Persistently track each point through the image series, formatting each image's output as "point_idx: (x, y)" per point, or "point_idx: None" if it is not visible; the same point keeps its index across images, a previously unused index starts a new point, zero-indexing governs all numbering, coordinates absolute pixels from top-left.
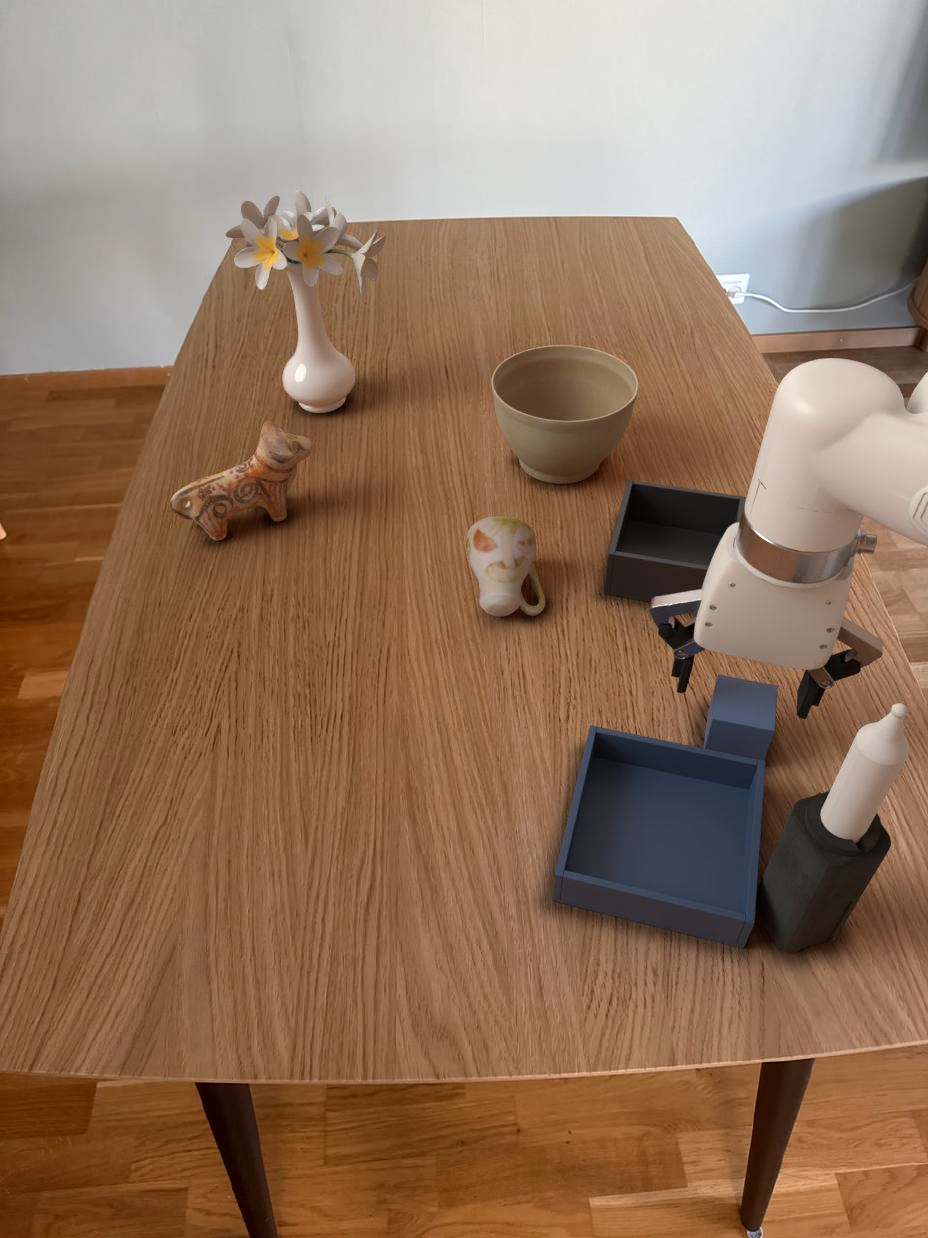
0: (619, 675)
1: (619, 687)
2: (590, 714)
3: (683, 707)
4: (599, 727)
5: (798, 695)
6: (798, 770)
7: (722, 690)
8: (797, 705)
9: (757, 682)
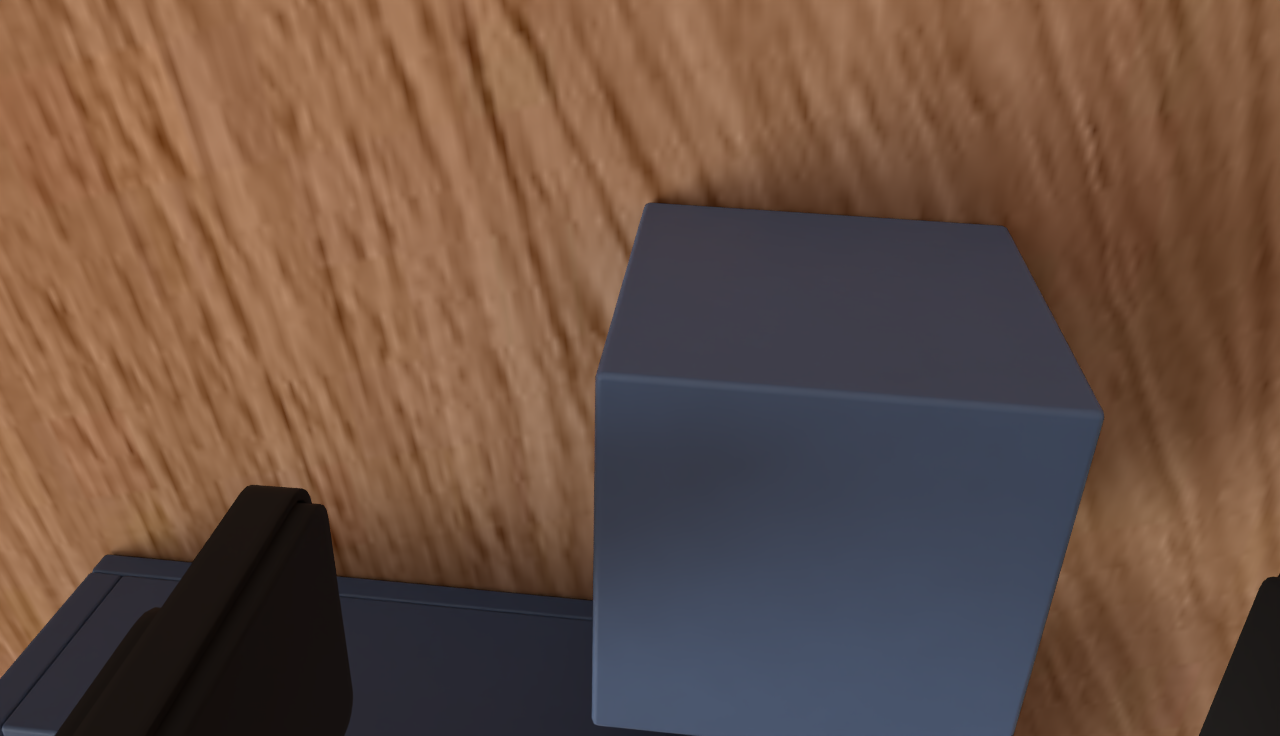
0: (48, 12)
1: (87, 117)
2: (22, 339)
3: (495, 201)
4: (12, 730)
5: (1255, 676)
6: (1142, 508)
7: (643, 519)
8: (1218, 722)
9: (929, 411)
